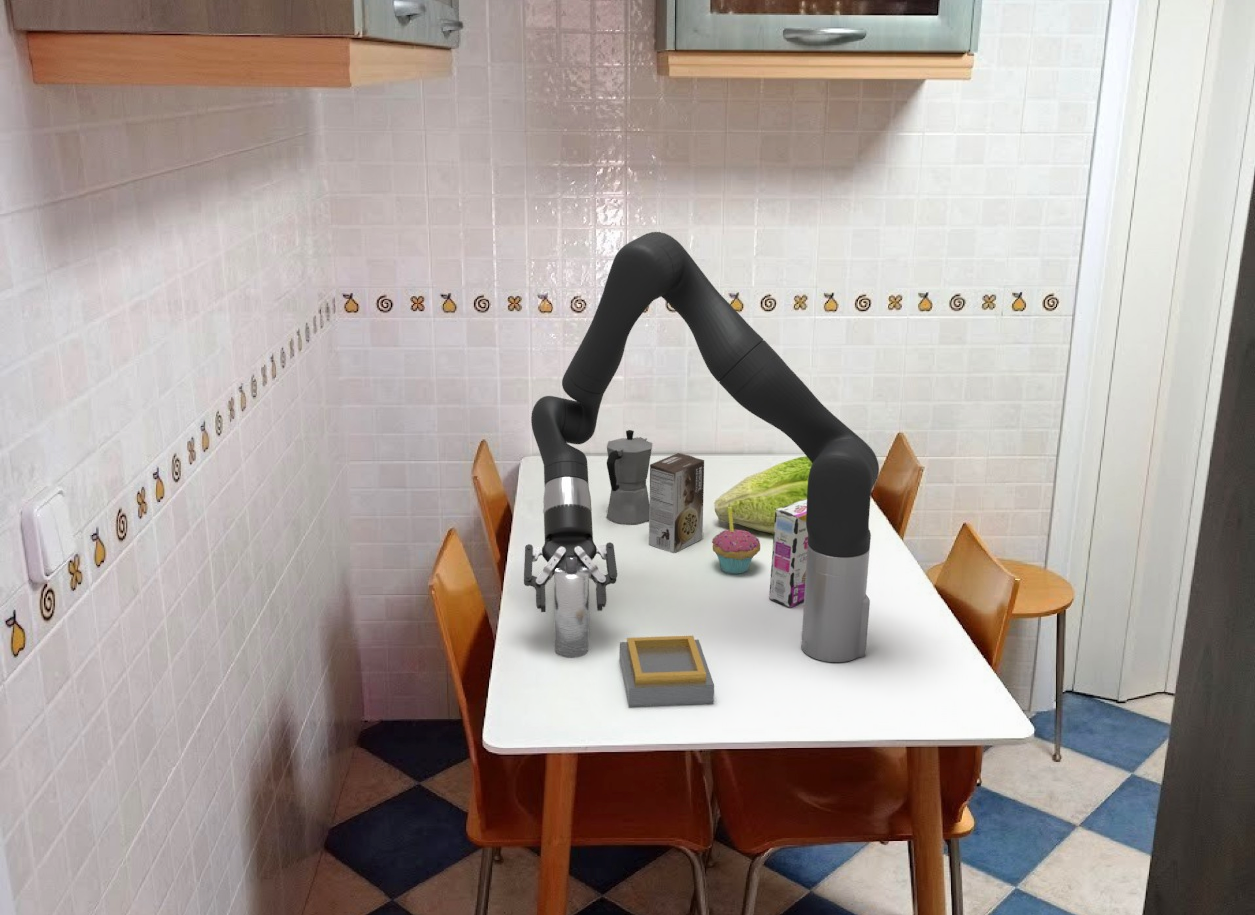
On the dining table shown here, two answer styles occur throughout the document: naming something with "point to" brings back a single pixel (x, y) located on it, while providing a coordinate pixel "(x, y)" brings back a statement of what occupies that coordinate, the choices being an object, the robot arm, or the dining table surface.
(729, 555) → the cupcake
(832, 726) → the dining table surface
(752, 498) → the lettuce
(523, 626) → the dining table surface
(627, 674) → the grey square tray
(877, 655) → the dining table surface
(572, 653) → the spout can
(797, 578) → the candy bar box
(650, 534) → the coffee box
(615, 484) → the coffeepot
